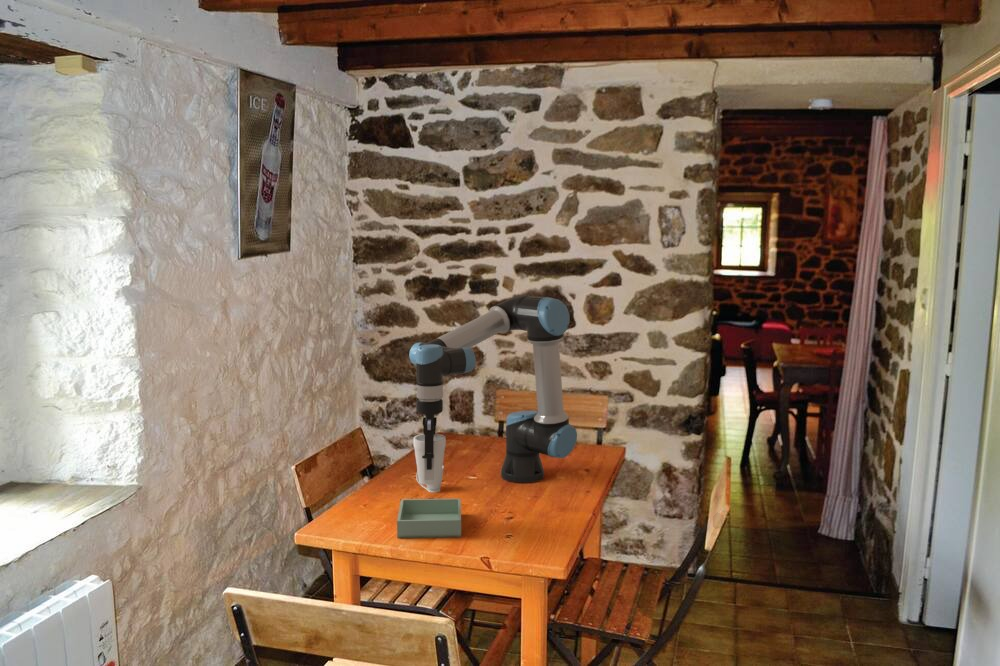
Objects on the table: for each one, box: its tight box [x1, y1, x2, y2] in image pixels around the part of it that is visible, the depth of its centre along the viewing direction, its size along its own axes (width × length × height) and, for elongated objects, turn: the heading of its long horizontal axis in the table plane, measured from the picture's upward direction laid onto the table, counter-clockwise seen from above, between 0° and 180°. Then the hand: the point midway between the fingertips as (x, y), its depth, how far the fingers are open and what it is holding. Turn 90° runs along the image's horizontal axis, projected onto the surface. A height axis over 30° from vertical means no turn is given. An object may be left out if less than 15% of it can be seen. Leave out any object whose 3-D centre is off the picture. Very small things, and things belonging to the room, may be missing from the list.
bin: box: [396, 498, 462, 539], centre depth 236 cm, size 18×18×5 cm
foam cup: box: [412, 433, 447, 486], centre depth 234 cm, size 10×9×13 cm
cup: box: [415, 465, 445, 493], centre depth 267 cm, size 7×10×8 cm
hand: (429, 474), depth 234 cm, fingers closed on foam cup, 9 cm apart
